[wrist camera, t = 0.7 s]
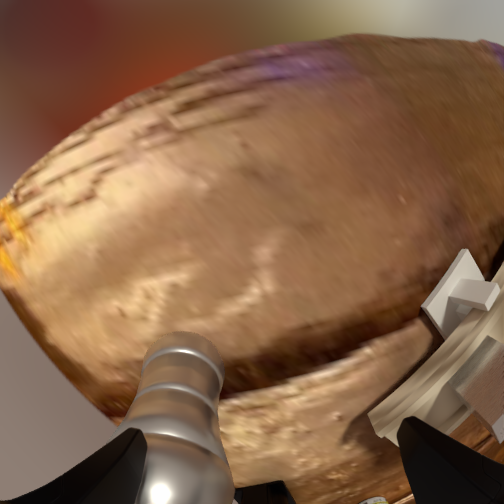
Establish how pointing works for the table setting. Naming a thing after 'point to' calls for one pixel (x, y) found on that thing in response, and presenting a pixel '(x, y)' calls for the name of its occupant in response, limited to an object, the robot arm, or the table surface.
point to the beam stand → (459, 294)
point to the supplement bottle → (375, 501)
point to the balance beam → (441, 375)
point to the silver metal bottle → (181, 423)
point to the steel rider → (483, 385)
